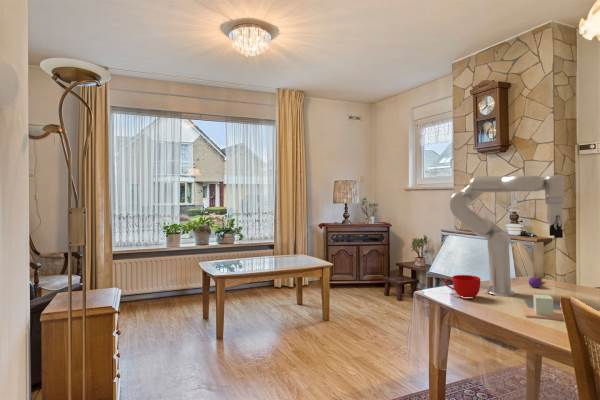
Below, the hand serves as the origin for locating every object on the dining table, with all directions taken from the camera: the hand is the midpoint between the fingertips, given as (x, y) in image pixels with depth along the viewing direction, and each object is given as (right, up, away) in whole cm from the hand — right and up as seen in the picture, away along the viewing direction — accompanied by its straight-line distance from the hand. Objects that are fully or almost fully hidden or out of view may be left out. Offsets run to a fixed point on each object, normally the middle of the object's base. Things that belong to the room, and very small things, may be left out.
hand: (556, 236), depth 173 cm
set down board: (-20, -31, -21) cm, 43 cm away
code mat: (-10, -31, -8) cm, 33 cm away
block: (-20, -30, -21) cm, 42 cm away
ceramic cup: (-40, -32, +11) cm, 52 cm away
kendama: (+10, -31, +30) cm, 44 cm away
